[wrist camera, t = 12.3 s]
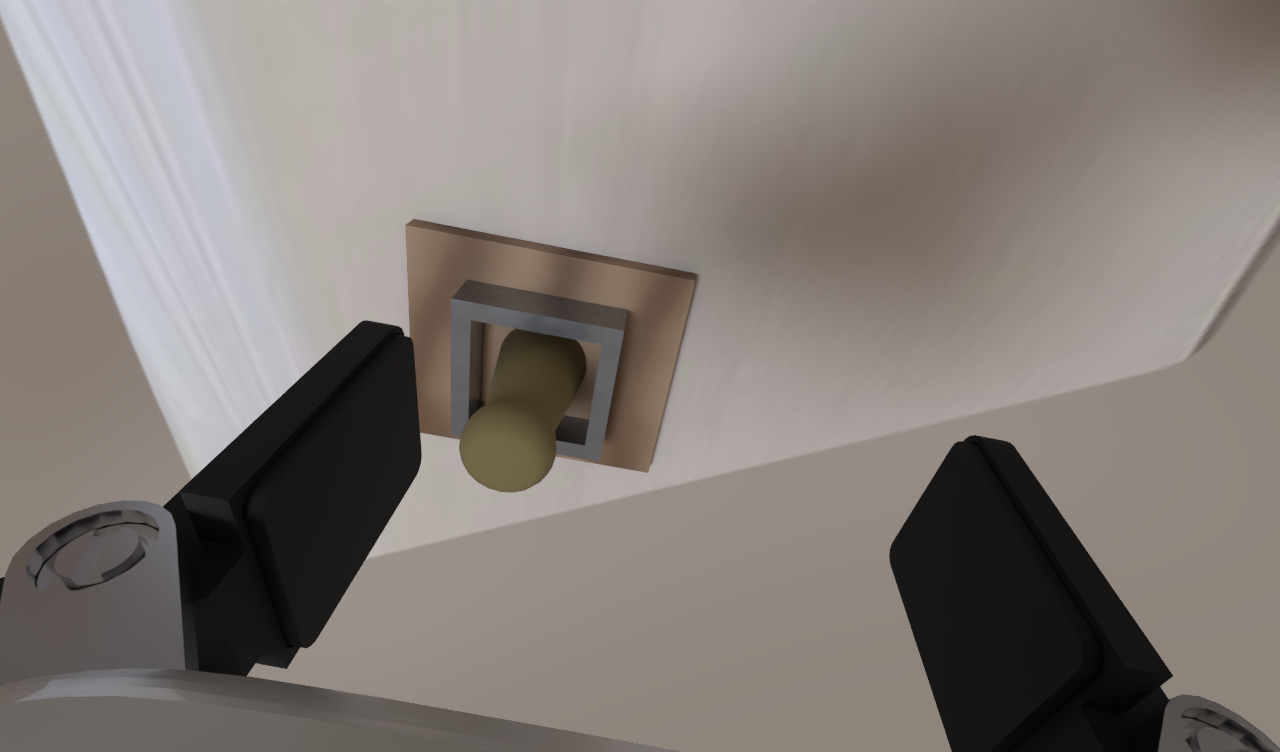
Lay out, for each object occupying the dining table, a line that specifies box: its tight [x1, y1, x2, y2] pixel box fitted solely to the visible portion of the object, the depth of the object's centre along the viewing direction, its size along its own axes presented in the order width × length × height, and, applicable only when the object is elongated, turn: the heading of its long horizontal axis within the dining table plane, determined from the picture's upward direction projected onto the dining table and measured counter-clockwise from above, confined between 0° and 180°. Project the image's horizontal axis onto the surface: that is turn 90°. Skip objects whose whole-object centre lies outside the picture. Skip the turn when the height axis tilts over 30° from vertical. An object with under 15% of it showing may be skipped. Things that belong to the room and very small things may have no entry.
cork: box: [459, 329, 587, 492], centre depth 34 cm, size 6×6×11 cm
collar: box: [451, 279, 628, 462], centre depth 38 cm, size 10×10×3 cm
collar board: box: [406, 219, 696, 473], centre depth 40 cm, size 18×16×1 cm
